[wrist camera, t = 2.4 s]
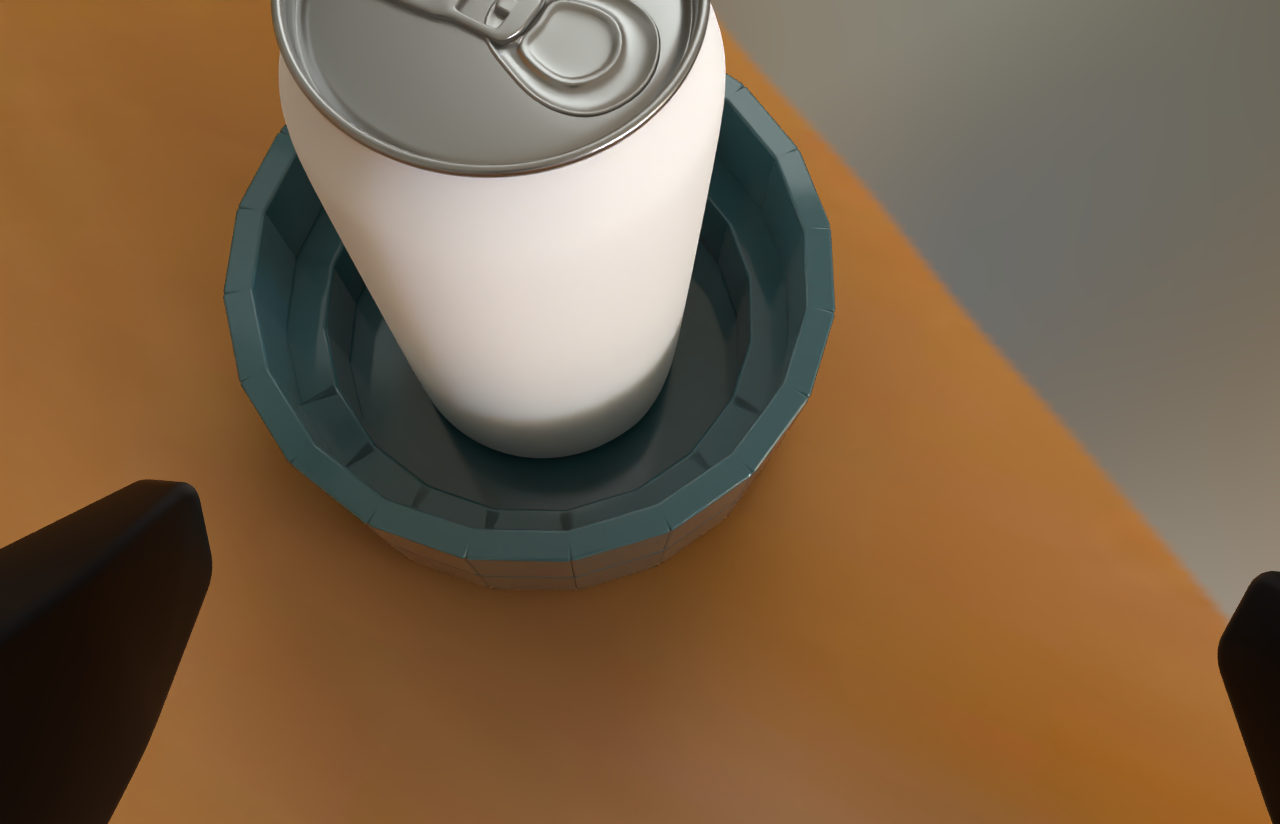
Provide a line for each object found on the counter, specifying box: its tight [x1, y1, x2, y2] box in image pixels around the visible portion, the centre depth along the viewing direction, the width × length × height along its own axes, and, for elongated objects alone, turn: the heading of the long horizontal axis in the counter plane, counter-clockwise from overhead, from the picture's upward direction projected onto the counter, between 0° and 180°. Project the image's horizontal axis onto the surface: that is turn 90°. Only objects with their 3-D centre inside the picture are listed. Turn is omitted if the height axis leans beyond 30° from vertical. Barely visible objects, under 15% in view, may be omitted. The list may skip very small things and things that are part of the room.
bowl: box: [223, 73, 835, 591], centre depth 22 cm, size 12×12×5 cm
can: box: [271, 0, 725, 458], centre depth 18 cm, size 6×6×12 cm
